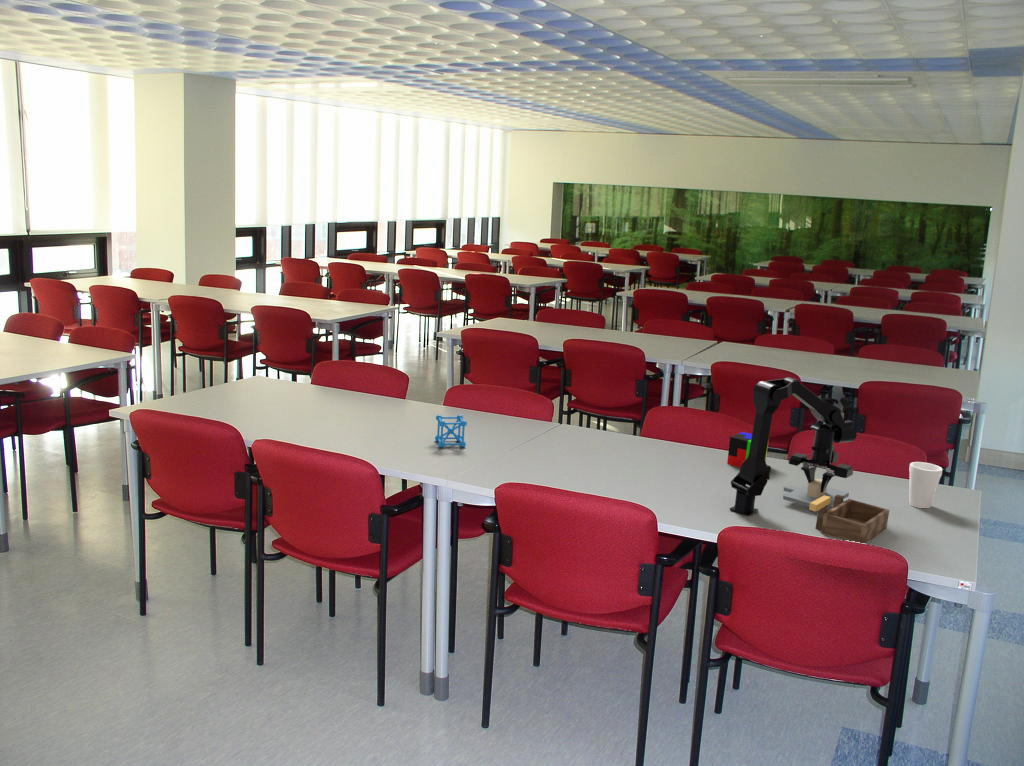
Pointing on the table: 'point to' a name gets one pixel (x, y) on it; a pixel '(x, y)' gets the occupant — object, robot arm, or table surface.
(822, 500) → the yellow wooden bar
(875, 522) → the brown wooden box
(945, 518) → the table surface
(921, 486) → the foam cup
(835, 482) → the table surface
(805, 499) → the lid
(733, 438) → the puzzle toy
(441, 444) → the molecular structure
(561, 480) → the table surface
